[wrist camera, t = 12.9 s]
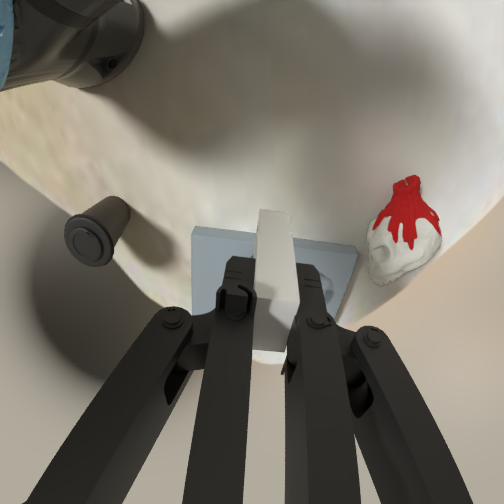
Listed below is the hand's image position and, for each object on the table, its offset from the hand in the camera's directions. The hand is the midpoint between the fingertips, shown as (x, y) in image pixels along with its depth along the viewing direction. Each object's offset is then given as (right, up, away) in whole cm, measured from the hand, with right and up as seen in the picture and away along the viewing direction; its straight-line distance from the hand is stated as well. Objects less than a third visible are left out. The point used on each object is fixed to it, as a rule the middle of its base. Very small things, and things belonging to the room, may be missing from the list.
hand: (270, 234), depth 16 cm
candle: (+20, +4, +25) cm, 33 cm away
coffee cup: (-22, +5, +27) cm, 35 cm away
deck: (+2, -5, +32) cm, 33 cm away
